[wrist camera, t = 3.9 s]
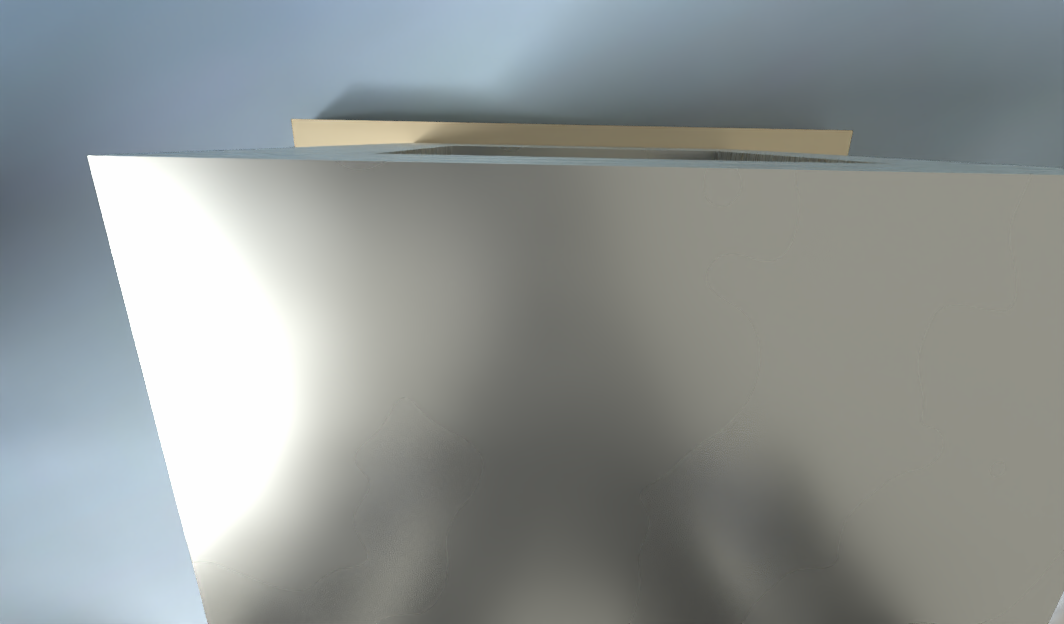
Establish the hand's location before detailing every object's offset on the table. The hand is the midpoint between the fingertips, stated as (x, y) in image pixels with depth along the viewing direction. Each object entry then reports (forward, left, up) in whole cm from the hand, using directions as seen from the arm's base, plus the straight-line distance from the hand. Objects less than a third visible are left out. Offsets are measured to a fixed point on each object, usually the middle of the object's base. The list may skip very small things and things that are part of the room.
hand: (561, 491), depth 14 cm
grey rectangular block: (-7, 0, -2) cm, 7 cm away
